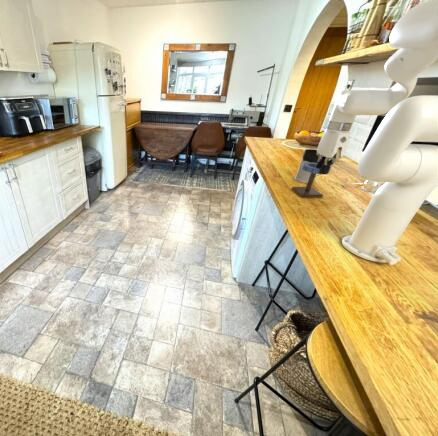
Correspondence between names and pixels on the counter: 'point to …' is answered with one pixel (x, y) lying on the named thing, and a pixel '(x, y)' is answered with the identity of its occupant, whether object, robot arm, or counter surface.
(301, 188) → the stand
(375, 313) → the counter surface
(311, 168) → the ring
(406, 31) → the robot arm
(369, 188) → the wineglass
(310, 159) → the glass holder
